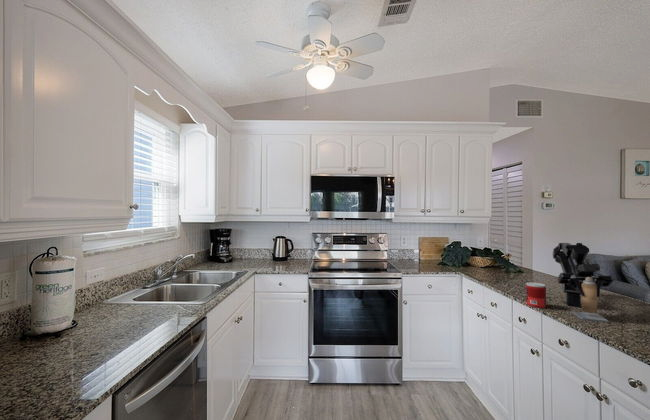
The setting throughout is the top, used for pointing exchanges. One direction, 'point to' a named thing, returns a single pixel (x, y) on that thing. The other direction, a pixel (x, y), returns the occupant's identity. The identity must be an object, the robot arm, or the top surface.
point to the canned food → (536, 295)
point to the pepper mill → (589, 295)
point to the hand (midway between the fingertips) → (590, 296)
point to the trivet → (590, 316)
